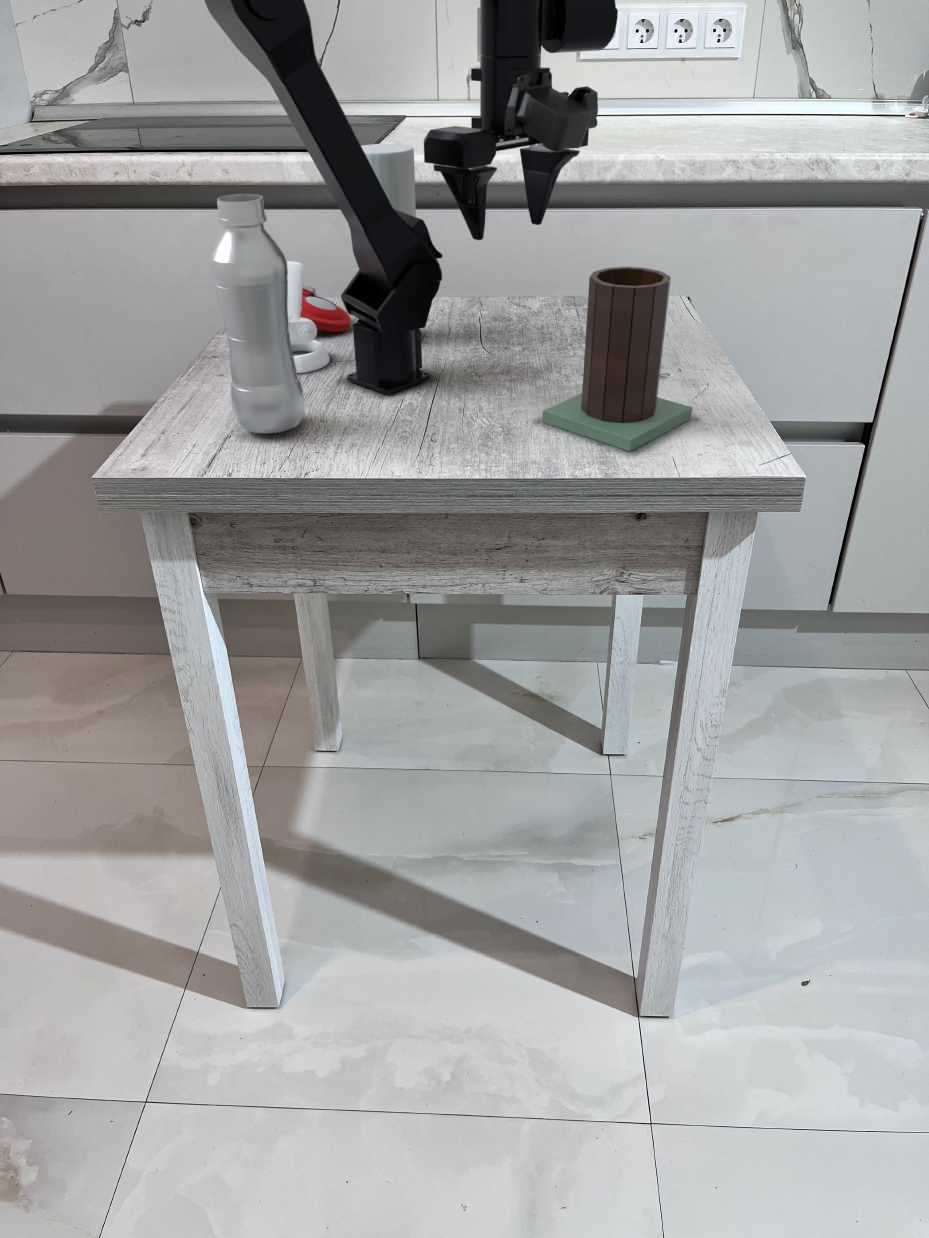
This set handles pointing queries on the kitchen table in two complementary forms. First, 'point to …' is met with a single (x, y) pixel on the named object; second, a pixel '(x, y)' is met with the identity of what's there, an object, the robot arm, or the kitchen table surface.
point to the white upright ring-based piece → (302, 325)
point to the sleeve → (624, 343)
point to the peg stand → (615, 433)
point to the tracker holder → (323, 312)
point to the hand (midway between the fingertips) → (508, 231)
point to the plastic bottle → (255, 317)
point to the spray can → (395, 173)
